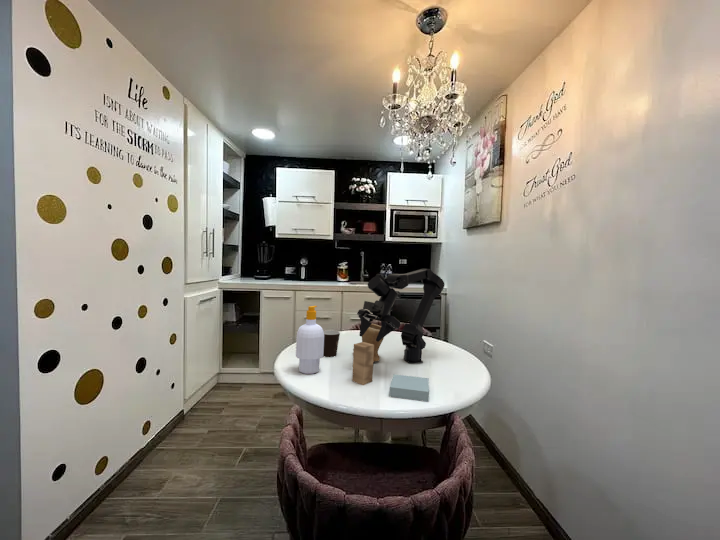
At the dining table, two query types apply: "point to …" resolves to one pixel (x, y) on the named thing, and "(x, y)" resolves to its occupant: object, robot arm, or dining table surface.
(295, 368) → the dining table surface
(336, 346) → the coffee mug
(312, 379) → the dining table surface
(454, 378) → the dining table surface
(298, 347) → the soap bottle
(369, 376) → the walnut column
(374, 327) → the sandstone flared vase
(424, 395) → the slate base
